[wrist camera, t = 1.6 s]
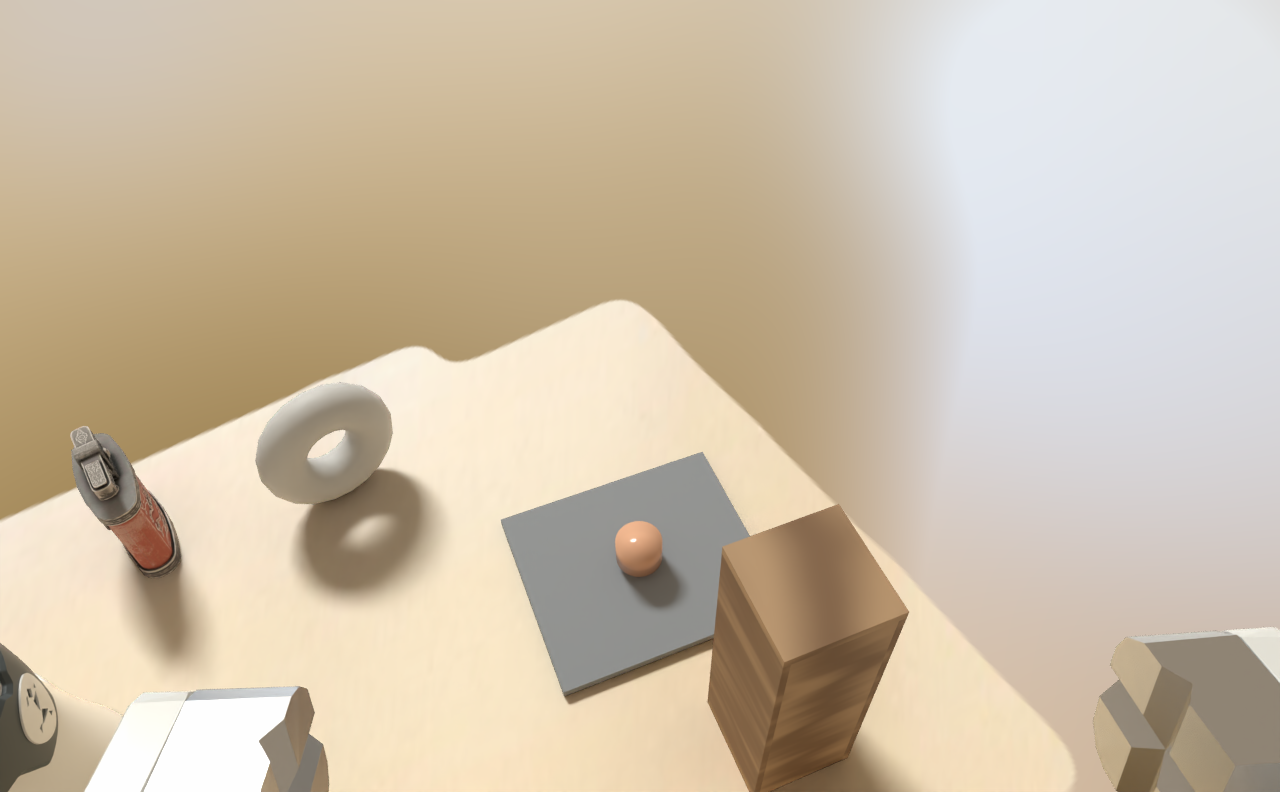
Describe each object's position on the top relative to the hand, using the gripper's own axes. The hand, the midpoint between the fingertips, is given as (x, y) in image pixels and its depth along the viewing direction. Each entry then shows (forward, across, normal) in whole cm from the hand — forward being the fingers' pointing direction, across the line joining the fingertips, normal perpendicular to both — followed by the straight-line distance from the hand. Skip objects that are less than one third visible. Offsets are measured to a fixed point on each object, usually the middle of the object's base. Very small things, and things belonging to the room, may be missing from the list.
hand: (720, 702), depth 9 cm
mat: (+44, +2, -36) cm, 57 cm away
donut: (+53, -20, -34) cm, 66 cm away
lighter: (+50, -34, -35) cm, 70 cm away
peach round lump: (+44, +2, -36) cm, 57 cm away
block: (+33, +9, -40) cm, 52 cm away
